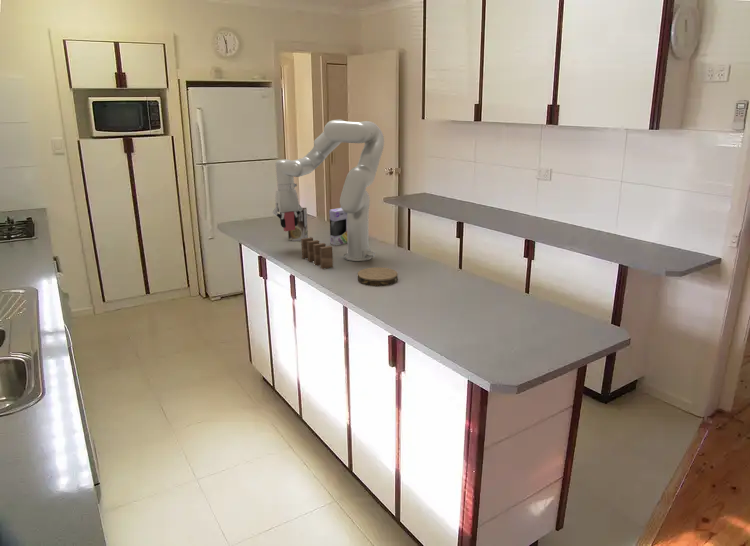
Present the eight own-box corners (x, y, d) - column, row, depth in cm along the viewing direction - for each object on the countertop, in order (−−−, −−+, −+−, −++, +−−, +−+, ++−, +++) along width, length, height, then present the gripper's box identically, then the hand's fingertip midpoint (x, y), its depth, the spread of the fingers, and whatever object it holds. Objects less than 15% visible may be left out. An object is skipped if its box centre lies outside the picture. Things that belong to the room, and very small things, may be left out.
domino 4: (320, 267, 231) (319, 247, 229) (330, 265, 234) (330, 245, 231) (322, 269, 230) (321, 248, 227) (332, 267, 232) (332, 246, 230)
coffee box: (308, 238, 281) (307, 207, 276) (305, 241, 275) (304, 209, 270) (291, 237, 282) (289, 207, 277) (288, 240, 276) (286, 209, 271)
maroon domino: (283, 230, 252) (282, 211, 249) (293, 229, 255) (291, 210, 252) (285, 231, 250) (283, 212, 248) (295, 229, 253) (293, 210, 250)
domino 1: (302, 258, 246) (301, 238, 243) (311, 256, 248) (311, 237, 246) (303, 259, 244) (303, 239, 242) (313, 257, 247) (313, 238, 244)
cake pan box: (334, 246, 265) (333, 210, 260) (327, 244, 269) (326, 209, 264) (364, 239, 278) (363, 205, 272) (357, 238, 281) (357, 204, 276)
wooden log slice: (351, 284, 212) (351, 277, 211) (366, 272, 226) (366, 265, 225) (390, 288, 207) (390, 281, 206) (402, 276, 221) (402, 269, 220)
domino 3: (314, 264, 236) (313, 244, 234) (324, 262, 239) (323, 242, 236) (316, 265, 235) (315, 245, 232) (326, 263, 237) (325, 243, 235)
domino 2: (307, 261, 241) (307, 241, 238) (317, 259, 244) (317, 240, 241) (309, 262, 239) (309, 242, 237) (319, 260, 242) (319, 240, 239)
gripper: (299, 184, 254) (302, 222, 259) (265, 188, 245) (268, 227, 251) (306, 186, 248) (309, 225, 253) (271, 190, 239) (275, 230, 245)
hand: (289, 226), depth 252 cm, fingers closed on maroon domino, 4 cm apart
